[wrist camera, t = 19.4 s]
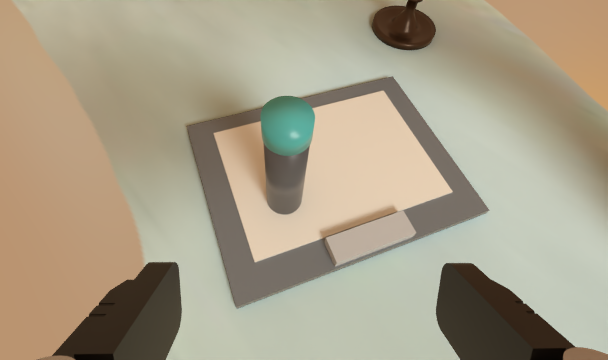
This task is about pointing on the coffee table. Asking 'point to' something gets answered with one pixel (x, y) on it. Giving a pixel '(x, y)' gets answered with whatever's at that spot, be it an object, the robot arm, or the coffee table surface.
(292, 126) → the marker
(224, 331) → the coffee table surface
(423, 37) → the candlestick
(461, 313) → the robot arm
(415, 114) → the clipboard
